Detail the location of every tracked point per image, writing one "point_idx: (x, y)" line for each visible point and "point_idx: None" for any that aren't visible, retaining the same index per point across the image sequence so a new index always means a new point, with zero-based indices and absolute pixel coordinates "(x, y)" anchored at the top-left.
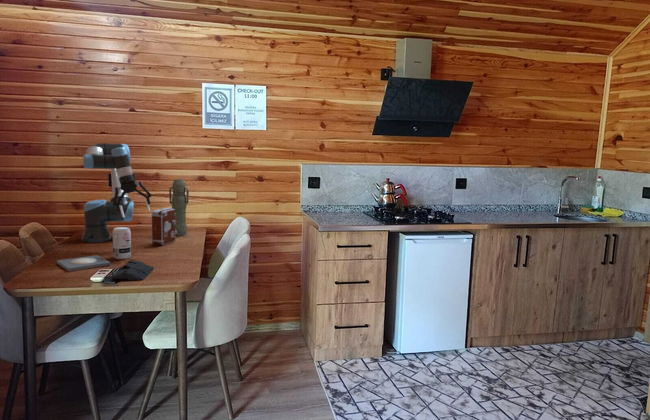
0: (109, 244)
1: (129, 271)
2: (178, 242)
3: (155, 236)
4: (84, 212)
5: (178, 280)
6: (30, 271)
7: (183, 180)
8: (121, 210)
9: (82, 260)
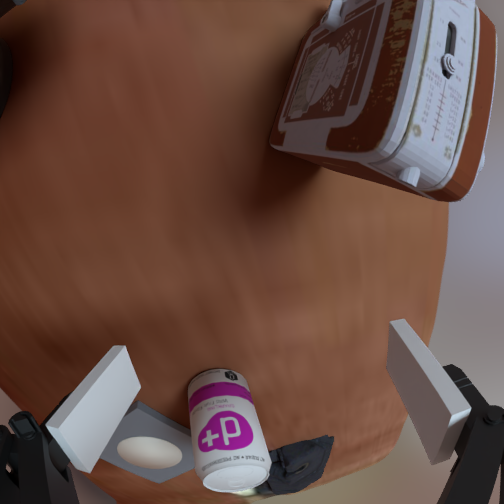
0: (39, 165)
1: (301, 487)
2: None
3: (306, 159)
4: None
5: (373, 457)
6: (86, 473)
7: None
8: (110, 430)
9: (143, 451)
